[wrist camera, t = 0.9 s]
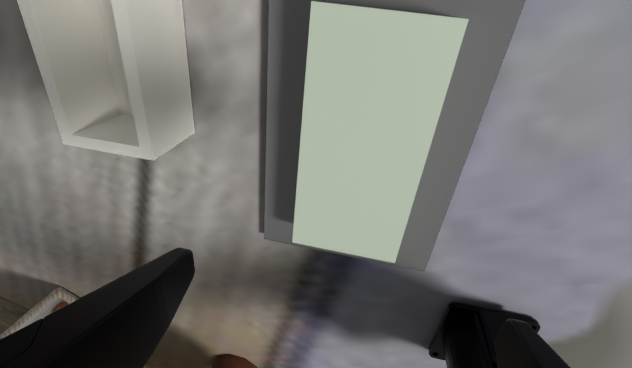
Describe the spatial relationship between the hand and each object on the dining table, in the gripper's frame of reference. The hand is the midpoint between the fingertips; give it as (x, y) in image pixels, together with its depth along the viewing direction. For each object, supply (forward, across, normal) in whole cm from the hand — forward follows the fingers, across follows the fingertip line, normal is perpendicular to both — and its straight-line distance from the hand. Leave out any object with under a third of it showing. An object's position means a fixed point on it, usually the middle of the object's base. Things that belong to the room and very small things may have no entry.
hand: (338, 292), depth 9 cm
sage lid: (+12, 0, 0) cm, 12 cm away
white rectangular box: (+12, +14, -4) cm, 19 cm away
